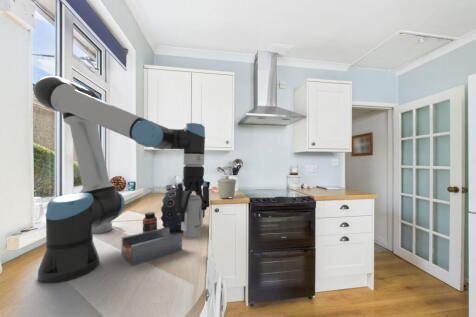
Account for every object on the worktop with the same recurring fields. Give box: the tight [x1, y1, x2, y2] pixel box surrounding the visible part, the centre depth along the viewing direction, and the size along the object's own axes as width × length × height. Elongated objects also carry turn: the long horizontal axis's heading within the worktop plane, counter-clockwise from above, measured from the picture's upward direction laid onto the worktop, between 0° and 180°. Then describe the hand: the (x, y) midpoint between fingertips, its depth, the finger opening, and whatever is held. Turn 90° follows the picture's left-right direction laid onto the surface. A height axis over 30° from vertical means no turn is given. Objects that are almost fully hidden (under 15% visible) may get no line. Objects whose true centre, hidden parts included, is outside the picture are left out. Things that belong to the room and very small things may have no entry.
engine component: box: [93, 220, 113, 234], centre depth 108 cm, size 11×20×10 cm
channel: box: [121, 227, 183, 266], centre depth 81 cm, size 18×12×6 cm, turn 134°
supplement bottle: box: [142, 211, 158, 233], centre depth 95 cm, size 6×6×11 cm
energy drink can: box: [183, 194, 202, 240], centre depth 78 cm, size 6×6×15 cm
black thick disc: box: [160, 189, 185, 232], centre depth 107 cm, size 11×20×20 cm, turn 4°
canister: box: [216, 175, 237, 199], centre depth 199 cm, size 18×18×21 cm
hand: (192, 228), depth 78 cm, fingers closed on energy drink can, 6 cm apart
